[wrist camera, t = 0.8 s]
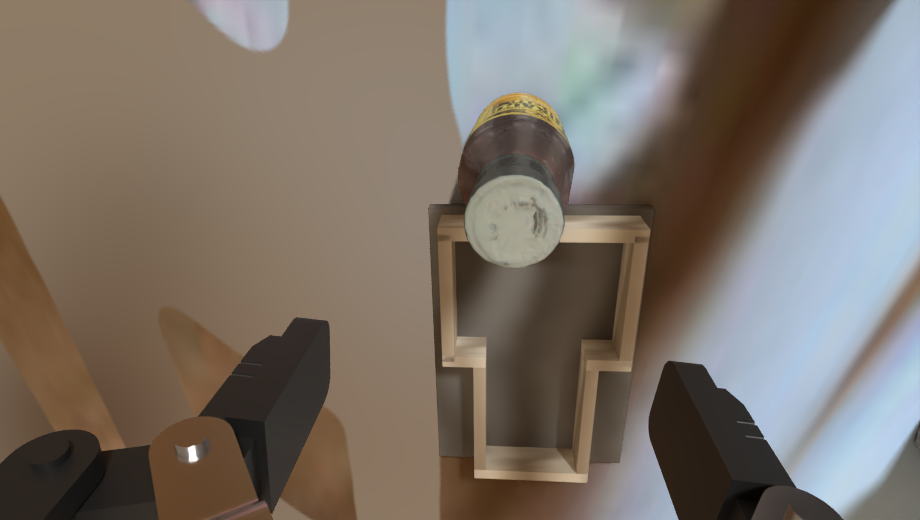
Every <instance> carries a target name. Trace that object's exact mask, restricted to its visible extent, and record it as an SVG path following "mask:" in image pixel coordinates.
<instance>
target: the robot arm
mask: <svg viewBox="0 0 920 520" xmlns="http://www.w3.org/2000/svg"><path fill="white" fill-rule="evenodd" d="M329 333H330V332H329V323H328V322H327V321H324V320H315V319H306V318H298V317H296V318H295V319H294V320H293V321H292V322H291V324H290V325H289V327H288V328H287V329H286V331H285V332H284V334H283V335H282V336H281V337H280V336H272V335H270V336H268V337H267V338H265V339H264V340H262V341H260V342H259V343H257V344H255V345H254V346H252V348H251V349H250V350H249V351H248V353H247V354H246V355H245V356H244V358H243V359H242V360H241V364H238V366H237V367H236V368H235V369H234V371H233V372H232V375H231V376H229V377H228V378H227V380H226V381H225V382H224V384H223V385H222V386H221V388H220V389H219V390H218V391H217V393H216V394H215V395H214V397H213V398H212V399H211V401H210V402H209V403H208V404H207V406H206V407H205V408H204V410H203V411H202V412H201V413H200V415H199V416H198V417H194V418H189V419H186V420H183V421H180V422H178V423H175V424H173V425H171V426H170V427H168V428H166V429H165V430H164V431H162V432H161V433H160V434H159V435H158V436H157V437H156V438H155V439H154V440H153V442H152V444H151V445H147V446H141V447H133V448H124V449H116V450H108V451H101V448H100V444H99V441H98V439H97V437H96V436H95V435H93V434H92V433H90V432H87V431H83V430H62V431H57V432H53V433H49V434H46V435H43V436H41V437H38V438H36V439H34V440H31V441H29V442H27V443H26V444H24V445H22V446H21V447H19V448H18V449H16V450H15V451H14V452H13V453H11V454H10V455H9V456H8V457H7V458H6V459H5V460H4V461H3V462H2V463H1V464H0V520H273V518H272V516H271V514H272V513H273V511H274V508H275V506H276V504H277V502H278V500H279V498H280V496H281V493H282V491H283V489H284V487H285V485H286V483H287V481H288V478H289V476H290V474H291V472H292V470H293V468H294V466H295V464H296V461H297V459H298V457H299V455H300V453H301V451H302V449H303V446H304V444H305V442H306V440H307V438H308V436H309V434H310V431H311V429H312V427H313V425H314V423H315V421H316V419H317V416H318V414H319V412H320V410H321V408H322V406H323V404H324V401H325V399H326V396H327V393H328V388H329V383H330V335H329ZM649 437H650V441H651V444H652V446H653V449H654V452H655V455H656V458H657V460H658V463H659V466H660V469H661V472H662V474H663V477H664V480H665V483H666V486H667V488H668V491H669V494H670V497H671V500H672V502H673V505H674V508H675V511H676V514H677V516H678V519H679V520H843V519H842V518H841V516H840V515H839V514H838V513H837V512H836V511H835V510H834V509H833V508H831V507H830V506H829V505H828V504H826V503H825V502H823V501H822V500H820V499H819V498H817V497H815V496H814V495H812V494H810V493H808V492H805V491H803V490H800V489H797V488H796V486H795V485H794V483H793V482H792V480H791V478H790V477H789V475H788V474H787V472H786V471H785V469H784V467H783V466H782V464H781V463H780V461H779V460H778V458H777V456H776V455H775V453H774V452H773V450H772V449H771V447H770V445H769V444H768V442H767V441H766V440H764V436H763V434H762V433H761V431H760V430H759V428H758V426H756V425H755V422H754V420H753V419H752V417H751V415H750V414H749V412H748V411H747V409H746V408H745V406H744V405H743V404H742V403H741V402H740V401H739V400H738V399H736V398H735V397H734V396H733V395H732V394H731V393H729V392H728V391H727V390H726V389H722V388H717V387H716V385H715V383H714V382H713V380H712V378H711V377H710V375H709V373H708V372H707V370H706V368H705V367H704V366H703V365H701V364H692V363H684V362H675V361H668V362H667V363H666V364H665V366H664V368H663V371H662V374H661V377H660V381H659V384H658V387H657V391H656V394H655V397H654V401H653V404H652V407H651V411H650V415H649Z"/></svg>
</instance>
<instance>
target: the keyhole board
mask: <svg viewBox="0 0 920 520" xmlns="http://www.w3.org/2000/svg"><path fill="white" fill-rule="evenodd" d="M465 206H466V205H465V204H430V206H429V208H428V209H429V231H430V254H431V276H432V299H433V321H434V340H435V341H434V343H435V366H436V387H437V408H438V432H439V454H440V456H455V457H474V478H487V479H510V480H534V481H557V482H581V483H587V478H588V468H589V462H607V463H620V457H621V450H622V442H623V435H624V428H625V421H626V414H627V406H628V399H629V392H630V385H631V377H632V370H633V363H634V356H635V348H636V341H637V334H638V327H639V320H640V312H641V305H642V298H643V291H644V283H645V276H646V269H647V262H648V255H649V247H650V240H651V233H652V226H653V218H654V211H655V209H654V208H653V207H652V206H651V205H567V207H566V209H565V210H564V213H565V214H564V219H565V226H564V230H563V234H562V236H561V238H560V242H559V243H558V245H557V246H556V247H555V249H554V251H553V252H552V253H550V254H549V256H547V257H546V258H545V259H544V260H541V261H540V262H538V263H536V264H534V265H530V266H528V267H525V268H519V269H509V268H503V267H501V266H498V265H495V264H492V263H490V262H488V261H486V260H484V259H483V258H481V256H480V255H478V254H477V253H476V252H475V250H474V249H473V248H472V246H471V244H470V242H469V241H468V240H467V237H466V234H465V229H464V212H465Z"/></svg>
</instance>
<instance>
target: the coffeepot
mask: <svg viewBox="0 0 920 520" xmlns="http://www.w3.org/2000/svg"><path fill="white" fill-rule="evenodd" d="M914 444H915V445H916V446H917V447H918V449H919V450H920V426H919V429H918V431H917V438H916V441H915V443H914Z"/></svg>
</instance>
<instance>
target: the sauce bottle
mask: <svg viewBox="0 0 920 520" xmlns="http://www.w3.org/2000/svg"><path fill="white" fill-rule="evenodd" d="M458 169H459V171H458V182H459V188H460V193H461V196H462V201H463V202H464V203H465V205H466V206H465V212H464V229H465V234H466V237H467V240H468V241H469V242H470V244H471V246H472V248H473V249H474V250H475V252H476V253H477V254H478V255H480V256H481V258H483V259H484V260H486V261H488V262H490V263H492V264H495V265H498V266H501V267H503V268H509V269H519V268H525V267H528V266H530V265H534V264H536V263H538V262H540V261H541V260H544V259H545V258H546V257H547V256H549V254H550V253H552V252H553V251H554V249H555V247H556V246H557V245H558V243H559V242H560V238H561V236H562V234H563V230H564V226H565V219H564V214H565V213H564V210H565V209H566V207H567V205H568V201H569V195H570V189H571V184H572V178H573V173H574V157H573V153H572V150H571V147H570V144H569V142H568V139H567V137H566V135H565V132H564V130H563V127H562V125H561V122H560V120H559V118H558V116H557V114H556V113H555V111H554V110H553V109H552V108H551V107H550V106H549V105H548V104H547V103H546V102H545V101H543V100H542V99H540V98H538V97H536V96H533V95H531V94H526V93H512V94H508V95H504V96H502V97H500V98H498V99H496V100H494V101H492V102H491V103H490V104H489V105H488V106H487V107H486V108H485V109H484V111H483V112H482V113H481V115H480V117H479V118H478V120H477V122H476V124H475V126H474V128H473V130H472V132H471V134H470V136H469V138H468V141H467V143H466V145H465V148H464V151H463V154H462V156H461V161H460V166H459V168H458Z"/></svg>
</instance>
